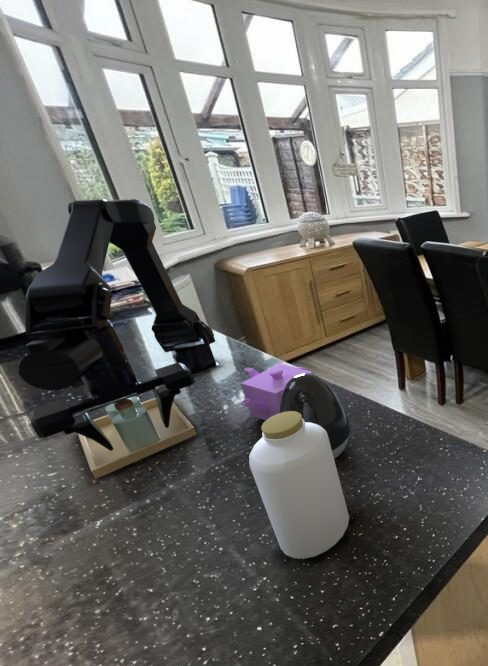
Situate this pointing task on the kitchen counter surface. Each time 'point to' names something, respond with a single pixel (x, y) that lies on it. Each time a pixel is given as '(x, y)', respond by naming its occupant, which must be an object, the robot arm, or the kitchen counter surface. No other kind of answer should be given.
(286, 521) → the white jar with lid
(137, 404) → the row bottle
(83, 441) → the tray
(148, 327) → the kitchen counter surface
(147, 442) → the loose bottle
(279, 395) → the teapot
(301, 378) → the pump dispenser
